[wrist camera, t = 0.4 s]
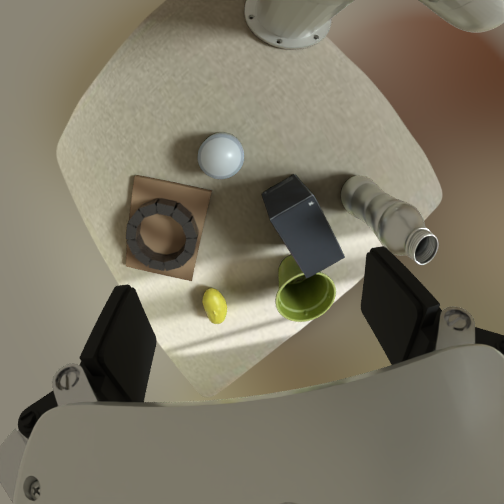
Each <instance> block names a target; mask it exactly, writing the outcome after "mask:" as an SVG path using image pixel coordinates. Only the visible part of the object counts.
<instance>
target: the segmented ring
mask: <svg viewBox="0 0 504 504" xmlns="http://www.w3.org/2000/svg"><path fill="white" fill-rule="evenodd" d="M155 214H161V215H165V216H170V217H172V218H173V219H174V220H175V221H176V222H178V223H179V224H180V225H181V226H182V228H183V231H184V233H185V236H186V243H185V245H184V246H183V247H182V248H181V249H180V250H179V251H178V252H175V253H171V254H167V255H166V254H161V253H157V252H154V251H153V250H152V249H150V248H149V247H148V246H147V245H145V243H144V241H143V239H142V236H141V234H140V229H141V222H142V220H143V219H144V218H146V217H149V216H152V215H155ZM191 215H192V213H191V212H190V211H189V210H188V209H187V208H185V207H184V206H183V205H182V204H181V203H180V202H179V203H178V204H177V201H174V200H169V199H164V198H160V200H159V198H157V199H154V200H151V201H148V202H146V203H144V204H142V205H141V206H140V207H139V209H138V210H137V211H136V212H135V214H134V215H133V216H132V217H131V219H130V220H129V221H128V224H127V233H126V239H127V244H128V246H129V248H130V250H131V252H132V254H133V255H135V258H136V259H138V260H139V261H140V262H141V263H143V264H144V265H145V266H146V267H147V266H148V265H149V268H152V269H157V270H161V271H164V270H166V271H169V270H172V269H176V268H180V267H181V266H183V265H184V264H185V263H186V262H187V261H188V260H189V259H190V258H191V257H192V256H193V254H194V252H195V248H196V243H197V238H198V234H199V232H198V231H199V230H198V227H197V224H196V221H195V218H194V216H193V215H192V216H191Z"/></svg>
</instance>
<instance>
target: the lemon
mask: <svg viewBox="0 0 504 504" xmlns="http://www.w3.org/2000/svg"><path fill="white" fill-rule="evenodd" d="M202 302H203V306H204V309H205V311H206V313H207V316H208V318H209V320H210V321H211V322H212V323H214V324H220V323H222V322H223V321H224V320H225V317H226V313H227V305H226V301H225V299H224V297H223V296H222V295H221V293H220V292H219V291H217V290H216V289H213V288H210V289H208V290H207V291H206V292H205V293H204V296H203V300H202Z"/></svg>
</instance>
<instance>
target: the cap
mask: <svg viewBox="0 0 504 504" xmlns="http://www.w3.org/2000/svg"><path fill="white" fill-rule="evenodd" d="M243 161H244V151H243V148H242V145H241V143H240V141H239V140H238V139H237V138H236V137H235V136H233V135H232V134H229V133H225V132H219V133H215V134H213V135H211V136H209V137H208V138H207V139H206V140H205V141H204V142H203V143H202V145H201V146H200V149H199V151H198V163H199V166H200V168H201V169H202V171H203V172H204V173H205V174H207V175H208V176H210V177H212V178H216V179H226V178H229V177H231V176H233V175H235V174H236V173H237V172H238V171H239V170H240V168H241V167H242V165H243Z"/></svg>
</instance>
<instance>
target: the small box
mask: <svg viewBox="0 0 504 504" xmlns="http://www.w3.org/2000/svg"><path fill="white" fill-rule="evenodd" d="M262 197H263V200H264V203H265V206H266V209H267V212H268V215H269V218H270V221H271V223H272V224H273V226H274V228H275V229H276V231H277V232H278V234H279V235H280V237H281V239H282V240H283V242H284V243H285V245H286V247H287V248H288V250H289V251H290V253H291V254H292V256H293V258H294V259H295V261H296V262H297V264H298V265H299V267H300V269H301V270H302V272H303V273H304V275H305V277H306V278H309V277H311V276H313V275H315V274H316V273H318V272H320V271H322V270H324V269H325V268H327V267H329V266H331V265H333V264H334V263H336V262H338V261H340V260H341V259H343V258H345V256H344V254H343V252H342V250H341V247H340V245H339V243H338V241H337V239H336V237H335V235H334V233H333V231H332V229H331V227H330V225H329V223H328V221H327V219H326V217H325V215H324V213H323V211H322V209H321V207H320V206H319V204H318V202H317V200H316V198H315V196H314V195H313V194H312V192H311V191H310V190H309V189H308V188H307V187H306V186H305V185H304V184H303V183H302V182H301V181H300V179H299V178H298V177H297V176H296V175H295V174H293V175H291V176H290V177H289V178H287V179H285V180H284V181H282V182H280V183H279V184H276V185H275V186H273V187H271V188H269V189H268V190H266V191H265V192H263V193H262Z"/></svg>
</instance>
